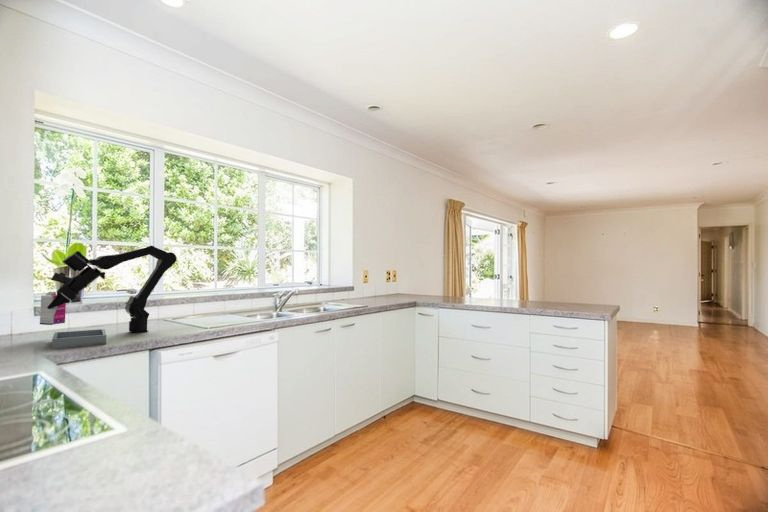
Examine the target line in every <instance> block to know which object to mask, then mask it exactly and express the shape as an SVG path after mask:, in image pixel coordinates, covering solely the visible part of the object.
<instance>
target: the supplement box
mask: <svg viewBox="0 0 768 512" xmlns="http://www.w3.org/2000/svg"><path fill="white" fill-rule="evenodd" d="M56 297H57V294H44V295H41V297H40V309H39V311H40V312H39V315H40V316H39V325H45V326H52V325H59V324H60V325H61V324H65V323H66V310H67V309H66V307H67V305H66V304H67V303H64V304H62V305H59V306H57V307H54V308H51V309H48V308H47V307H48V306H49V304H50V303H51V302H52V301H53V300H54V299H55V298H56Z"/></svg>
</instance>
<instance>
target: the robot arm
mask: <svg viewBox="0 0 768 512" xmlns="http://www.w3.org/2000/svg"><path fill="white" fill-rule="evenodd" d="M149 255H150V256H151V257H153V258H155V259H157V261H156V265H155V267H154V269H153V271H152V272H151V273H150V275H149V277H148V278H147V279H146V281H145V282H144V283H143V286H142V287H141V289H139V292H138V293H137V294H136V295H135V296H133V295H130V296H129V298H128V300H127V302H125V303H124V304H125V307H124V309H125V312H126V313H127V314H129V317H130V320H129V321H128V331H129V333H131V334H133V333H137V334H138V333H147V332H149V330H148V319H149V316H150V313H149V312H148V311H146V308H145V307H146V306H147V301H148V299H149V297H150V296H151V294H152V292H153V291H154V289H155V287H156V285H158V284H159V281H160V280H161V278H162V277H163V275H164V274H165V273H166V271H168V270H169V269H170V268H171V267H172V266H173V265H174V264H175V263H176V262H177V259H178V258H177V255H176V254H175V253H174V252H171V251H170V252H168V251H165V250H163V249H160V248H157V247H156V246H155V245H146V246H144V247H140V248H137V249H132V250H129V251H124V252H121V253H118V254H107V255H100V256H98V257H96V258H95V259H94V258H93V259H91V258H90V259H88V258H87V257H86V256H85V255H84V254H82V252H81V251H80V250H76V251H75V252H74V253H72V254H70V255H68V256H67V257H66V258H64V259H63V260H62V263H63V264H64V265H66V266H67V267H68V268H69V269H71V270H72V271H73V272H76V271H78V272H79V273H77V274H76V275H73V277H71V276H68V275H67V274H66V273H65V272H62V271H61V272H60V273H59V272H56V271H55V272H54V273H53V275H52V277H51V279H50V280H51V281H54V282H58V283H60V284H61V285H60V286H59V288H58V289H57V291H56V295H57V297H56V298H55V299H54V300H53V301H52V302H51V303H50V304H49V306H48V307H47V308H48V309H51V308H54V307H57V306H59V305H62V304H64V303H66V304H67V303H70V302H72V301H74V300H75V299H77V295H78V294H80V293H81V292H82V291H83V290H84V289H86V288H87V287H88V286H89V285H90V284H92V283H93V282H94V281H95V280H97V279H98V278H99V277H100V278H101V279H103V280H105V278H106V277H105V275H106V272H105V270H109V269H112V268H114V267H116V266H118V265H120V264H123V263H124V262H127V261H130V260H135V259H138V258H142V257H146V256H149ZM92 266H95V267H92ZM101 270H104V271H101Z"/></svg>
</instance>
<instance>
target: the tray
mask: <svg viewBox="0 0 768 512" xmlns="http://www.w3.org/2000/svg"><path fill="white" fill-rule="evenodd" d="M107 337H108V336H107V332H106V329H105V328H100V329H99V328H98V329H88V330H87V329H85V330H70V331H69V330H67V331H56V332H54V333H53V337H52V339H51V341H52V342H51V349H52V350H57V348H58V349H67V347H69V348H77V347H78V346H81V347H89V346H90V347H91V346H99V345H107ZM78 348H79V347H78Z"/></svg>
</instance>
